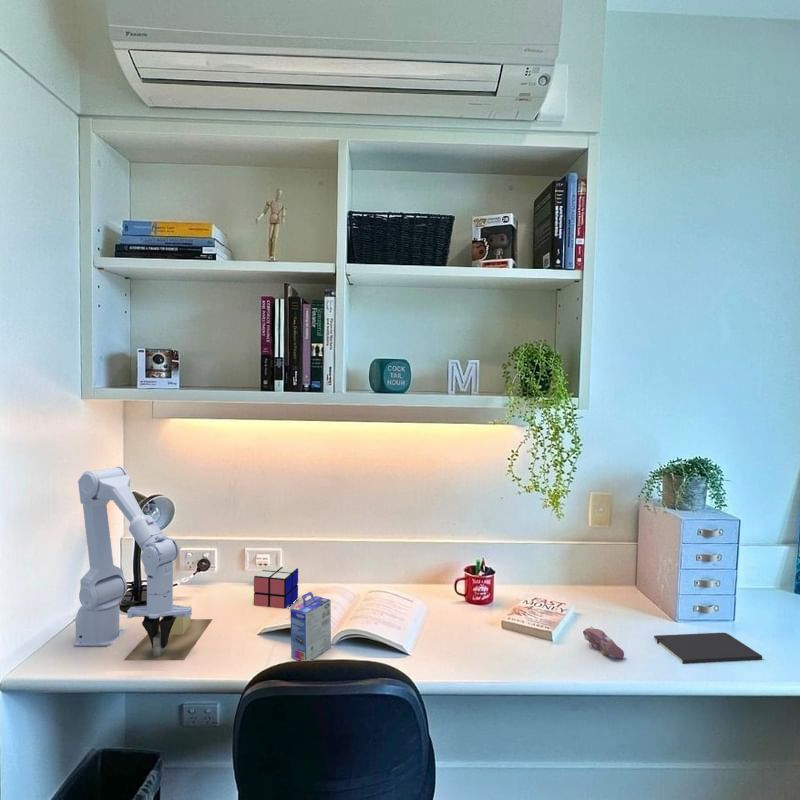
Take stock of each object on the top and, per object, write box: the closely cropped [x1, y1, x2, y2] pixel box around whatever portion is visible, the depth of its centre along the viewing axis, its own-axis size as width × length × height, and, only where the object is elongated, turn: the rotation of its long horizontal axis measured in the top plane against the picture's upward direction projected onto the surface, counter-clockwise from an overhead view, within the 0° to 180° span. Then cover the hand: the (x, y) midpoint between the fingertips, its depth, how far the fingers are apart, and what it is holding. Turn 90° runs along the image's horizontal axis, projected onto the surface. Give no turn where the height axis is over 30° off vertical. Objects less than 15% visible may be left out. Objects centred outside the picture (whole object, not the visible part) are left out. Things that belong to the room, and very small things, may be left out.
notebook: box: [653, 632, 763, 665], centre depth 141 cm, size 13×2×21 cm
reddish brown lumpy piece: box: [582, 626, 625, 660], centre depth 138 cm, size 10×5×7 cm, turn 21°
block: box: [161, 604, 192, 635], centre depth 144 cm, size 6×6×6 cm
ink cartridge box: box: [289, 591, 332, 661], centre depth 135 cm, size 10×6×14 cm, turn 149°
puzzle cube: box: [253, 565, 299, 610], centre depth 164 cm, size 10×10×10 cm
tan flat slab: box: [123, 618, 213, 661], centre depth 139 cm, size 14×22×6 cm, turn 2°
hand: (159, 646), depth 132 cm, fingers closed on tan flat slab
